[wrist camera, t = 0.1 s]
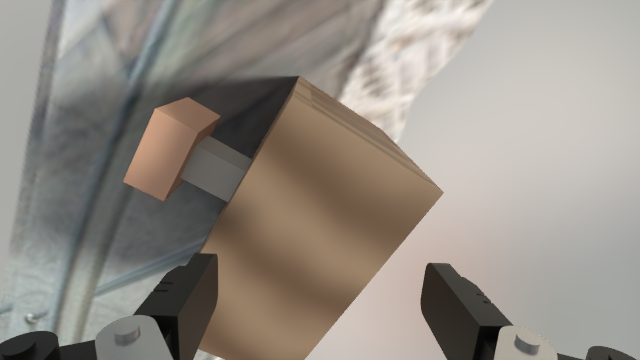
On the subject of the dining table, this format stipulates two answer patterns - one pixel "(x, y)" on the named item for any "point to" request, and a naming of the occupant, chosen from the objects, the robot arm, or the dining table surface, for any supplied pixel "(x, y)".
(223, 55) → the dining table surface
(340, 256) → the box
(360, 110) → the dining table surface
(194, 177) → the pinkish brown block
